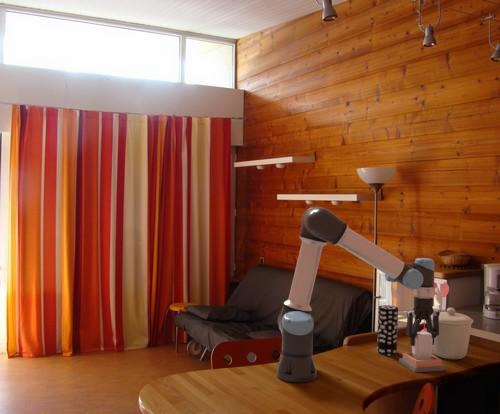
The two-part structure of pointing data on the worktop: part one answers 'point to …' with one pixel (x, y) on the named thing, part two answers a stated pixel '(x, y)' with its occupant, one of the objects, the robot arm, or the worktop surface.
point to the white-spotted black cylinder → (387, 330)
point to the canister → (452, 335)
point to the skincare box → (423, 346)
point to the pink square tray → (421, 363)
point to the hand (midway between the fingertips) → (421, 353)
